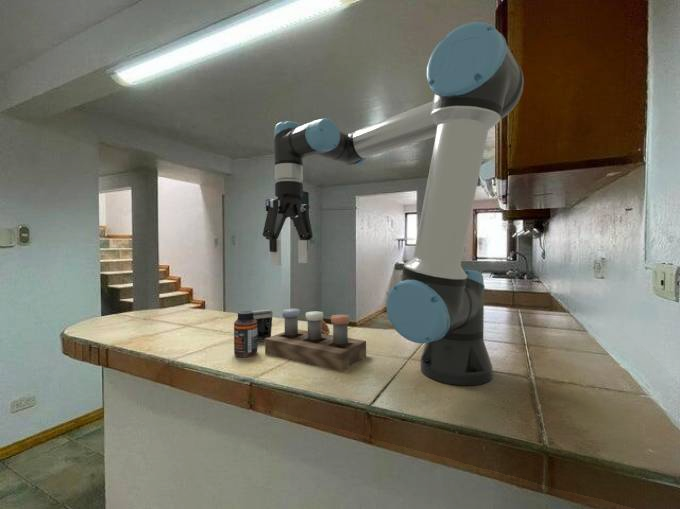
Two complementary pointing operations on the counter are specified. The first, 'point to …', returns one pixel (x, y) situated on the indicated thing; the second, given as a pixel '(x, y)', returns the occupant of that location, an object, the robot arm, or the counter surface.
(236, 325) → the supplement bottle
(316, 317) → the key white
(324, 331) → the fruit slice
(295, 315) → the grey cylindrical piece
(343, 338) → the key red
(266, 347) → the wooden peg holder
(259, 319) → the electrical switch
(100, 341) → the counter surface
